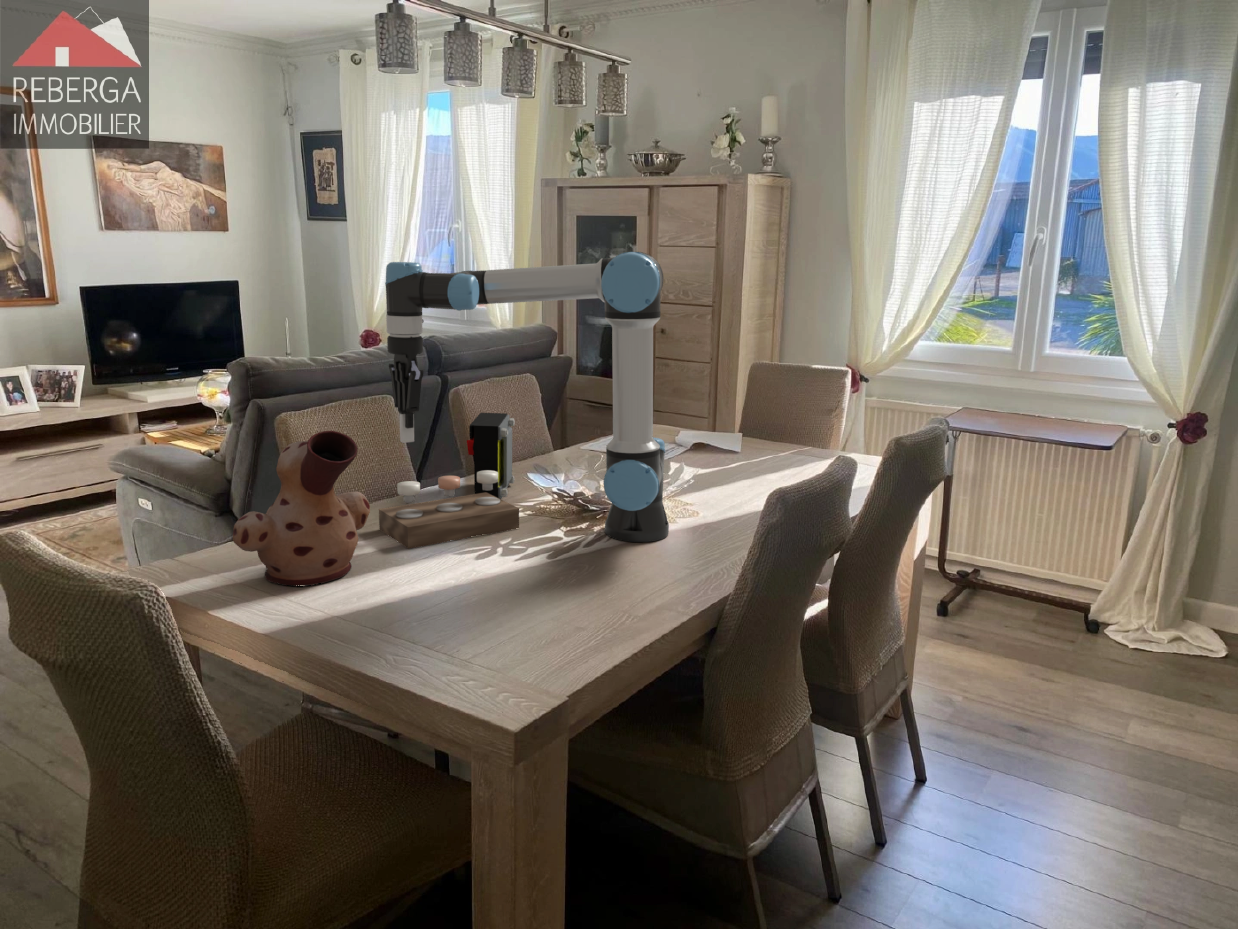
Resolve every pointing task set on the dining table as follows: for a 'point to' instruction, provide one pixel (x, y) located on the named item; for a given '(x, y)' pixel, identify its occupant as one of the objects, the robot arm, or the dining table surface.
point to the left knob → (408, 490)
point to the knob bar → (447, 519)
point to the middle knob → (449, 484)
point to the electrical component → (492, 450)
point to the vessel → (307, 515)
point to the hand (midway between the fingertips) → (407, 441)
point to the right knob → (487, 479)
